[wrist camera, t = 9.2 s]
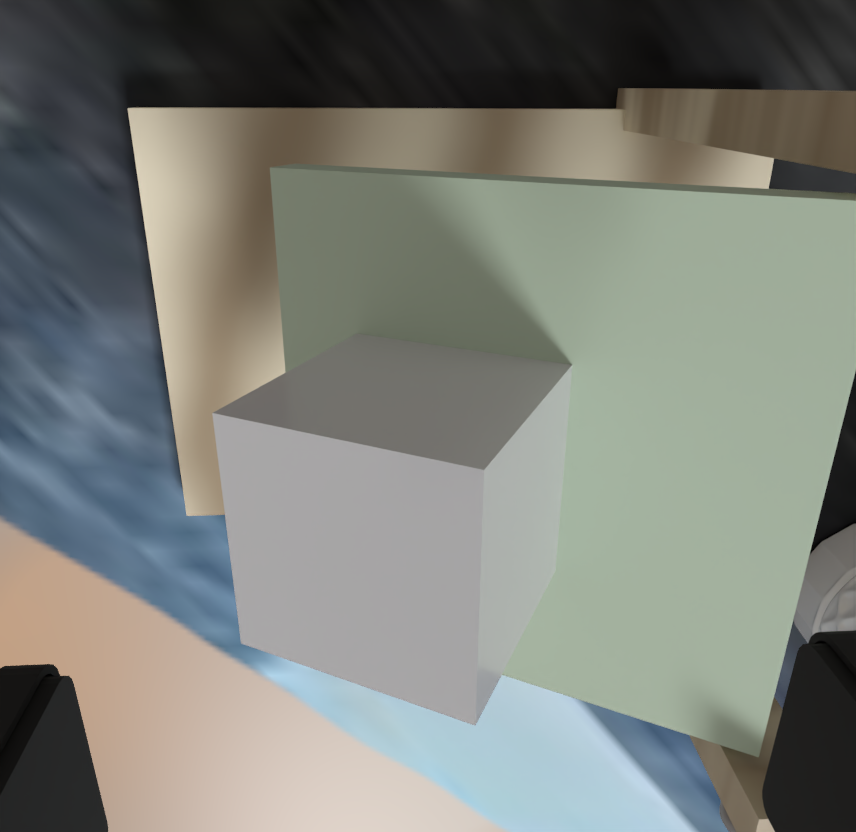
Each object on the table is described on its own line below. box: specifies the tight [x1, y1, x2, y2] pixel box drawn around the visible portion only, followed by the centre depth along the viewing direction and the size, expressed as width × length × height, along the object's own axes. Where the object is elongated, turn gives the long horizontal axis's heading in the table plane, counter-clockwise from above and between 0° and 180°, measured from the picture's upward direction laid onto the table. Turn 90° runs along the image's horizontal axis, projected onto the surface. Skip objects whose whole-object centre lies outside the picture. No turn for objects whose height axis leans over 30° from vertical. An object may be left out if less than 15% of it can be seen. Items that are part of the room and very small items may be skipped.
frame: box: [128, 88, 856, 832], centre depth 20 cm, size 20×17×15 cm
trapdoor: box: [270, 164, 856, 757], centre depth 16 cm, size 19×12×5 cm, turn 89°
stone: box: [212, 334, 572, 725], centre depth 15 cm, size 5×5×5 cm
